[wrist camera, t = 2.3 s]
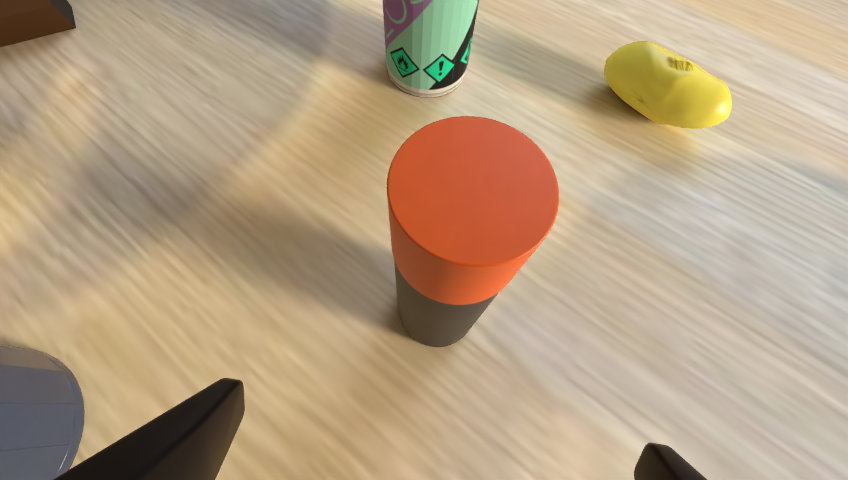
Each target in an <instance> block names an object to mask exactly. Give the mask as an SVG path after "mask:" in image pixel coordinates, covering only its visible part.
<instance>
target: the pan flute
mask: <svg viewBox="0 0 848 480" xmlns="http://www.w3.org/2000/svg"><path fill="white" fill-rule="evenodd" d="M73 28H76V26H75V21H74V16H73V11H72V7H71V6H70V4H69V3H68V1H67V0H0V47H2V46H6V45H10V44H14V43H18V42H22V41H25V40H29V39H33V38H37V37H41V36H45V35H49V34H53V33H57V32H61V31H65V30H69V29H73Z"/></svg>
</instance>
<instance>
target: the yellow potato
mask: <svg viewBox="0 0 848 480" xmlns="http://www.w3.org/2000/svg"><path fill="white" fill-rule="evenodd" d="M604 75H605V79H606V81H607V83H608V85H609V86H610V87H611V88H612V90H613V91H614V92H615V93H616V94H617V95H618V96H619V97H620V98H621V99H622V100H623V101H624V102H626V103H627V104H628V105H630V106H631V107H632V108H634V109H635V110H637V111H638V112H639V113H641V114H642V115H644V116H645V117H647V118H648V119H650V120H652V121H654V122H656V123H659V124H664V125H671V126H677V127H683V128H691V129H701V128H707V127H711V126H714V125H716V124H719V123H721V122H723V121H724V120H726V119H727V118H728V116H729V114H730V111H731V95H730V91H729V89H728V87H727V85H726V84H725V83H724V82H723V81H722V80H720V79H719V78H717V77H714V76H712V75H710V74H708V73H707V72H706V71H704V70H703V69H702V68H700V67H699V66H697V65H696V64H695V63H693V62H691V61H689V60H688V59H686V58H684V57H682V56H680V55H678V54H676V53H674V52H671V51H669V50H667V49H664V48H662V47H660V46H658V45H656V44H655V43H652V42H649V41H638V42H633V43H630V44H627V45H625V46H623V47H620V48H618V49H617V50H616V51H615V52H614V53H612V54H611V55H610V56H609V57H608V58H607V60H606V64H605V68H604Z"/></svg>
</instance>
